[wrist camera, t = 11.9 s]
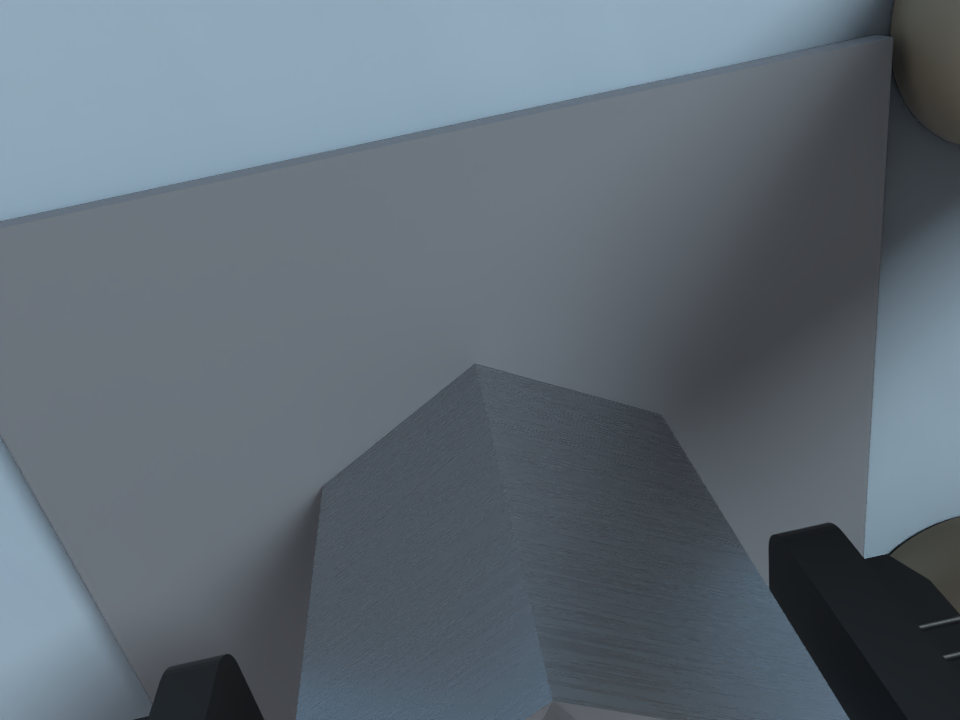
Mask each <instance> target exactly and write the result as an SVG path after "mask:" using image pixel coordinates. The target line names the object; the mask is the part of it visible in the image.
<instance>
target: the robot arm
mask: <svg viewBox="0 0 960 720" xmlns="http://www.w3.org/2000/svg"><path fill="white" fill-rule="evenodd" d="M768 552H769V590H770V591H771V593H772V594H773V596H774V598H775V599H776V601H777V603H778V604H779V606H780V607H781V609H782V611H783V612H784V614H785V616H786V617H787V619H788V620H789V622H790V624H791V625H792V627H793V629H794V630H795V632H796V633H797V635H798V637H799V638H800V640H801V642H802V643H803V645H804V646H805V648H806V650H807V651H808V653H809V655H810V656H811V658H812V659H813V661H814V663H815V664H816V666H817V667H818V669H819V671H820V672H821V674H822V676H823V677H824V679H825V680H826V682H827V684H828V685H829V687H830V689H831V690H832V692H833V693H834V695H835V697H836V698H837V700H838V702H839V703H840V705H841V706H842V708H843V710H844V711H845V713H846V715H847V716H848V718H849V719H850V720H960V614H959V613H958V611H957V610H956V609H955V608H954V607H953V606H952V605H951V604H950V602H949V601H948V600H947V599H946V598H945V597H944V596H943V595H942V593H941V592H940V591H939V590H938V589H937V588H936V587H935V585H934V584H933V583H932V582H931V581H930V580H929V579H927V578H926V577H924V576H922V575H921V574H919V573H917V572H916V571H914V570H912V569H911V568H909V567H908V566H906V565H904V564H903V563H901V562H899V561H898V560H896V559H894V558H893V557H891V556H889V555H888V554H885V555H881V556H876V557H872V558H867V559H864V557H863V556H862V555H861V554H860V553H859V551H858V550H857V549H856V548H855V546H854V545H853V544H852V543H851V541H850V540H849V539H848V538H847V536H846V535H845V534H844V533H843V532H842V530H841V529H840V528H839V527H838V526H836V525H835V524H833V523H830V522H828V523H823V524H819V525H814V526H810V527H805V528H801V529H796V530H792V531H787V532H783V533H778V534H774V535H772V536H771V537H770V539H769V547H768ZM135 720H264V718H263V716H262V714H261V712H260V709H259V707H258V705H257V703H256V701H255V699H254V697H253V695H252V692H251V690H250V688H249V686H248V684H247V682H246V680H245V678H244V676H243V673H242V671H241V669H240V667H239V665H238V663H237V661H236V660H235V658H234V657H233V656H232V655H230V654H224V655H220V656H215V657H211V658H206V659H202V660H197V661H193V662H188V663H184V664H179V665H174V666H170V667H168V668H167V669H166V670H165V671H164V673H163V675H162V677H161V680H160V682H159V686H158V689H157V692H156V695H155V699H154V702H153V705H152V708H151V711H150V715H149V716H148V717H144V718H139V719H135Z"/></svg>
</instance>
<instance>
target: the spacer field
mask: <svg viewBox="0 0 960 720" xmlns="http://www.w3.org/2000/svg"><path fill="white" fill-rule="evenodd" d="M890 37H893V52H892V67H893V72H894V75H895V79H896V83H897V86H898V88H899V91H900V93H901V95H902V97H903V100H904V102H905V103H906V105H907V106H908V108H909V109H910V111H911V112H912V114H913V115H914V116H915V117H916V118H917V120H918V121H919V122H920V123H921V124H922V125H923V126H924V127H926V128H927V129H928V130H930V131H931V132H932V133H934V134H935V135H936V136H938V137H940V138H942V139H944V140H946V141H948V142H951V143H954V144H957V145H960V0H895V3H894V7H893V12H892V21H891V30H890ZM889 556H891V557H893V558H894V559H896V560H898V561H899V562H901V563H903V564H904V565H906V566H908V567H909V568H911V569H912V570H914V571H916V572H917V573H919V574H921V575H922V576H924V577H926V578H927V579H929V580H930V581H931V582H932V583H933V584H934V585H935V587H936V588H937V589H938V590H939V591H940V592H941V593H942V595H943V596H944V597H945V598H946V599H947V600H948V601H949V602H950V604H951V605H952V606H953V607H954V608H955V609H956V610H957V611H958V613H959V614H960V517H957V518H953V519H950V520H947V521H945V522H942V523H939V524H937V525H935V526H933V527H930V528H928V529H926V530H924V531H922V532H921V533H919V534H917V535H916V536H914V537H912V538H911V539H909V540H908V541H907V542H905V543H904V544H902V545H901V546H900V547H899V548H897V549H896V550H895V551H894V552H893V553H892V554H890V555H889Z"/></svg>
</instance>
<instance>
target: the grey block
mask: <svg viewBox="0 0 960 720" xmlns="http://www.w3.org/2000/svg"><path fill="white" fill-rule="evenodd" d="M296 720H850V719H849V718H848V716H847V715H846V713H845V711H844V710H843V708H842V706H841V705H840V703H839V702H838V700H837V698H836V697H835V695H834V693H833V692H832V690H831V689H830V687H829V685H828V684H827V682H826V680H825V679H824V677H823V676H822V674H821V672H820V671H819V669H818V667H817V666H816V664H815V663H814V661H813V659H812V658H811V656H810V655H809V653H808V651H807V650H806V648H805V646H804V645H803V643H802V642H801V640H800V638H799V637H798V635H797V633H796V632H795V630H794V629H793V627H792V625H791V624H790V622H789V620H788V619H787V617H786V616H785V614H784V612H783V611H782V609H781V607H780V606H779V604H778V603H777V601H776V599H775V598H774V596H773V594H772V593H771V591H770V590H769V588H768V586H767V585H766V583H765V582H764V580H763V578H762V577H761V575H760V573H759V572H758V570H757V569H756V567H755V565H754V564H753V562H752V560H751V559H750V557H749V556H748V554H747V552H746V551H745V549H744V547H743V546H742V544H741V543H740V541H739V539H738V538H737V536H736V534H735V533H734V531H733V530H732V528H731V526H730V525H729V523H728V522H727V520H726V518H725V517H724V515H723V513H722V512H721V510H720V509H719V507H718V505H717V504H716V502H715V500H714V499H713V497H712V496H711V494H710V492H709V491H708V489H707V487H706V486H705V484H704V483H703V481H702V479H701V478H700V476H699V474H698V473H697V471H696V470H695V468H694V466H693V465H692V463H691V462H690V460H689V458H688V457H687V455H686V453H685V452H684V450H683V449H682V447H681V445H680V444H679V442H678V440H677V439H676V437H675V436H674V434H673V432H672V431H671V429H670V427H669V426H668V424H667V423H666V421H665V419H664V418H663V416H662V414H659V413H655V412H651V411H648V410H644V409H640V408H637V407H633V406H630V405H626V404H622V403H619V402H615V401H611V400H608V399H604V398H600V397H597V396H593V395H589V394H586V393H582V392H578V391H575V390H571V389H567V388H564V387H560V386H556V385H553V384H549V383H546V382H542V381H538V380H535V379H531V378H527V377H524V376H520V375H516V374H513V373H509V372H505V371H502V370H498V369H494V368H491V367H487V366H483V365H480V364H476V363H475V364H473V365H472V366H471V367H470V368H468V369H467V370H466V371H465V372H463V373H462V374H461V375H460V376H458V377H457V378H456V379H455V380H454V381H452V382H451V383H450V384H449V385H447V386H446V387H445V388H444V389H442V390H441V391H440V392H439V393H437V394H436V395H435V396H434V397H432V398H431V399H430V400H429V401H427V402H426V403H425V404H424V405H422V406H421V407H420V408H419V409H418V410H416V411H415V412H414V413H413V414H411V415H410V416H409V417H408V418H406V419H405V420H404V421H403V422H401V423H400V424H399V425H398V426H396V427H395V428H394V429H393V430H391V431H390V432H389V433H388V434H386V435H385V436H384V437H383V438H382V439H380V440H379V441H378V442H377V443H375V444H374V445H373V446H372V447H370V448H369V449H368V450H367V451H365V452H364V453H363V454H362V455H360V456H359V457H358V458H357V459H355V460H354V461H353V462H352V463H350V464H349V465H348V466H347V467H345V468H344V469H343V470H342V471H341V472H339V473H338V474H337V475H336V476H334V477H333V478H332V479H331V480H329V481H328V482H327V483H326V484H324V485H323V488H322V496H321V505H320V514H319V523H318V531H317V540H316V549H315V557H314V566H313V575H312V584H311V592H310V601H309V610H308V618H307V627H306V636H305V645H304V653H303V662H302V671H301V679H300V688H299V697H298V705H297V714H296Z"/></svg>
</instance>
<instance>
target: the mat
mask: <svg viewBox="0 0 960 720" xmlns="http://www.w3.org/2000/svg"><path fill="white" fill-rule="evenodd" d="M892 52H893V37H887V36H881V35H870V36H866V37H861V38H856V39H852V40H847V41H842V42H838V43H833V44H828V45H824V46H819V47H814V48H810V49H805V50H800V51H796V52H791V53H786V54H782V55H777V56H772V57H768V58H763V59H758V60H754V61H749V62H744V63H739V64H735V65H730V66H725V67H721V68H716V69H711V70H707V71H702V72H697V73H693V74H688V75H683V76H679V77H674V78H669V79H665V80H660V81H655V82H651V83H646V84H641V85H637V86H632V87H627V88H623V89H618V90H613V91H608V92H604V93H599V94H594V95H590V96H585V97H580V98H576V99H571V100H566V101H562V102H557V103H552V104H548V105H543V106H538V107H534V108H529V109H524V110H520V111H515V112H510V113H506V114H501V115H496V116H492V117H487V118H482V119H478V120H473V121H468V122H463V123H459V124H454V125H449V126H445V127H440V128H435V129H431V130H426V131H421V132H417V133H412V134H407V135H403V136H398V137H393V138H389V139H384V140H379V141H375V142H370V143H365V144H361V145H356V146H351V147H347V148H342V149H337V150H332V151H328V152H323V153H318V154H314V155H309V156H304V157H300V158H295V159H290V160H286V161H281V162H276V163H272V164H267V165H262V166H258V167H253V168H248V169H244V170H239V171H234V172H230V173H225V174H220V175H216V176H211V177H206V178H201V179H197V180H192V181H187V182H183V183H178V184H173V185H169V186H164V187H159V188H155V189H150V190H145V191H141V192H136V193H131V194H127V195H122V196H117V197H113V198H108V199H103V200H99V201H94V202H89V203H85V204H80V205H75V206H71V207H66V208H61V209H56V210H52V211H47V212H42V213H38V214H33V215H28V216H24V217H19V218H14V219H10V220H5V221H0V435H1V437H2V438H3V440H4V442H5V444H6V446H7V447H8V449H9V451H10V453H11V454H12V456H13V458H14V460H15V461H16V463H17V465H18V467H19V469H20V470H21V472H22V474H23V476H24V477H25V479H26V481H27V483H28V484H29V486H30V488H31V490H32V492H33V493H34V495H35V497H36V499H37V500H38V502H39V504H40V506H41V507H42V509H43V511H44V513H45V515H46V516H47V518H48V520H49V522H50V523H51V525H52V527H53V529H54V530H55V532H56V534H57V536H58V538H59V539H60V541H61V543H62V545H63V546H64V548H65V550H66V552H67V553H68V555H69V557H70V559H71V561H72V562H73V564H74V566H75V568H76V569H77V571H78V573H79V575H80V576H81V578H82V580H83V582H84V584H85V585H86V587H87V589H88V591H89V592H90V594H91V596H92V598H93V599H94V601H95V603H96V605H97V607H98V608H99V610H100V612H101V614H102V615H103V617H104V619H105V621H106V622H107V624H108V626H109V628H110V630H111V631H112V633H113V635H114V637H115V638H116V640H117V642H118V644H119V645H120V647H121V649H122V651H123V653H124V654H125V656H126V658H127V660H128V661H129V663H130V665H131V667H132V668H133V670H134V672H135V674H136V676H137V677H138V679H139V681H140V683H141V684H142V686H143V688H144V690H145V691H146V693H147V695H148V697H149V699H150V700H151V702H152V704H153V702H154V699H155V695H156V692H157V689H158V686H159V682H160V680H161V677H162V675H163V673H164V671H165V670H166V669H167V668H168V667H170V666H174V665H179V664H184V663H188V662H193V661H197V660H202V659H206V658H211V657H215V656H220V655H224V654H230V655H232V656H233V657H234V658H235V660H236V661H237V663H238V665H239V667H240V669H241V671H242V673H243V676H244V678H245V680H246V682H247V684H248V686H249V688H250V690H251V692H252V695H253V697H254V699H255V701H256V703H257V705H258V707H259V709H260V712H261V714H262V716H263V718H264V720H296V714H297V705H298V697H299V688H300V679H301V671H302V662H303V653H304V645H305V636H306V627H307V618H308V610H309V601H310V592H311V584H312V575H313V566H314V557H315V549H316V540H317V531H318V523H319V514H320V505H321V496H322V488H323V485H324V484H326V483H327V482H328V481H329V480H331V479H332V478H333V477H334V476H336V475H337V474H338V473H339V472H341V471H342V470H343V469H344V468H345V467H347V466H348V465H349V464H350V463H352V462H353V461H354V460H355V459H357V458H358V457H359V456H360V455H362V454H363V453H364V452H365V451H367V450H368V449H369V448H370V447H372V446H373V445H374V444H375V443H377V442H378V441H379V440H380V439H382V438H383V437H384V436H385V435H386V434H388V433H389V432H390V431H391V430H393V429H394V428H395V427H396V426H398V425H399V424H400V423H401V422H403V421H404V420H405V419H406V418H408V417H409V416H410V415H411V414H413V413H414V412H415V411H416V410H418V409H419V408H420V407H421V406H422V405H424V404H425V403H426V402H427V401H429V400H430V399H431V398H432V397H434V396H435V395H436V394H437V393H439V392H440V391H441V390H442V389H444V388H445V387H446V386H447V385H449V384H450V383H451V382H452V381H454V380H455V379H456V378H457V377H458V376H460V375H461V374H462V373H463V372H465V371H466V370H467V369H468V368H470V367H471V366H472V365H473V364H475V363H476V364H480V365H483V366H487V367H491V368H494V369H498V370H502V371H505V372H509V373H513V374H516V375H520V376H524V377H527V378H531V379H535V380H538V381H542V382H546V383H549V384H553V385H556V386H560V387H564V388H567V389H571V390H575V391H578V392H582V393H586V394H589V395H593V396H597V397H600V398H604V399H608V400H611V401H615V402H619V403H622V404H626V405H630V406H633V407H637V408H640V409H644V410H648V411H651V412H655V413H659V414H662V416H663V418H664V419H665V421H666V423H667V424H668V426H669V427H670V429H671V431H672V432H673V434H674V436H675V437H676V439H677V440H678V442H679V444H680V445H681V447H682V449H683V450H684V452H685V453H686V455H687V457H688V458H689V460H690V462H691V463H692V465H693V466H694V468H695V470H696V471H697V473H698V474H699V476H700V478H701V479H702V481H703V483H704V484H705V486H706V487H707V489H708V491H709V492H710V494H711V496H712V497H713V499H714V500H715V502H716V504H717V505H718V507H719V509H720V510H721V512H722V513H723V515H724V517H725V518H726V520H727V522H728V523H729V525H730V526H731V528H732V530H733V531H734V533H735V534H736V536H737V538H738V539H739V541H740V543H741V544H742V546H743V547H744V549H745V551H746V552H747V554H748V556H749V557H750V559H751V560H752V562H753V564H754V565H755V567H756V569H757V570H758V572H759V573H760V575H761V577H762V578H763V580H764V582H765V583H766V585H767V586H768V588H769V552H768V547H769V539H770V537H771V536H772V535H774V534H778V533H783V532H787V531H792V530H796V529H801V528H805V527H810V526H814V525H819V524H823V523H828V522H830V523H833V524H835V525H836V526H838V527H839V528H840V529H841V530H842V532H843V533H844V534H845V535H846V536H847V538H848V539H849V540H850V541H851V543H852V544H853V545H854V546H855V548H856V549H857V550H858V551H859V553H860V554H861V555H862V556H864V539H865V521H866V504H867V487H868V469H869V452H870V434H871V417H872V400H873V382H874V365H875V347H876V330H877V313H878V295H879V278H880V260H881V243H882V226H883V208H884V191H885V173H886V156H887V139H888V121H889V104H890V87H891V69H892Z"/></svg>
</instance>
